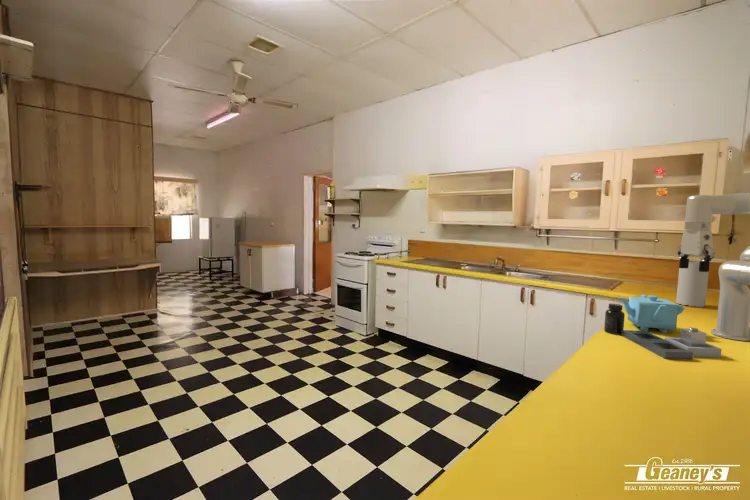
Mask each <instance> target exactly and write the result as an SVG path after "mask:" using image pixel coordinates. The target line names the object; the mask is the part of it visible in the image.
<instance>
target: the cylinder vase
mask: <svg viewBox="0 0 750 500" xmlns="http://www.w3.org/2000/svg"><path fill="white" fill-rule="evenodd" d="M700 261H701V260H700ZM700 261H697V260H689V266H688V268H679V267H678V269H679V270H678V277H677V287H676V288H677V291H676V299H675V302H676V303H675V304H677V303H678V305H679V304H682V305H681V306H683V305H689V306H696V307H695V308H705V307H706V304H707V303H706V301H707V291H708V284H709V283H708V282H709V272H699V263H700ZM689 306H688V307H689ZM704 306H705V307H704Z"/></svg>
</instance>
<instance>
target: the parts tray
mask: <svg viewBox="0 0 750 500" xmlns="http://www.w3.org/2000/svg"><path fill="white" fill-rule="evenodd" d="M664 340H666V341H669V342H671V343H673V344H675V345H677V346H680V347H682V348H684V349H686V350H688V351H691V352H693V357H704V358H722V357H721V356H722V348H720V347H718V346H716V345H713V344H711V343H708V342H706V344H705V347H688V346H686V345H684V344H681V343H680V337H667V336H666V337H664Z"/></svg>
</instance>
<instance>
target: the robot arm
mask: <svg viewBox="0 0 750 500" xmlns="http://www.w3.org/2000/svg"><path fill="white" fill-rule="evenodd" d="M725 214H726V215H746V214H747V215H748V214H749V215H750V192H738V193H736V192H735V193H728V194H716V195H715V194H714V195H713V194H711V195H710V194H709V195H707V194H697V195H695V194H694V195H689V196H688V197H687V199H686V207H685V216H684V217H685V220H684V230H683V232H682V237H681V241H680V245H678V246H676V250H677V251H676V252H677V254H678V259H679V265H678V269H679V268H688V266H689V261H690V258H689V257H690V256H695V257H699V259H700V263H699V272H709V271H710V263H711V262H712V260H713V258H715V255H716V253H717V251H716V250H715V249H714V248H713V247H714V246H713V245H714V244H713V243H714V240H713V233H712V230H711V225H712V223H711V222H712V215H725ZM718 278H719V299H718V307H717V316H716V326H715V328H713V329H711V330H710V333H711V334H712V335H714V336H716V337H719V338H724V339H729V340H734V341H741V342H742V341H745V342H750V288H749V287H750V245H749V246H746V248H745V249H744V250H743V251H742V252H741V254H740V255H739V260H727V261H725V262H723V263H722V264H720V265H719V267H718Z"/></svg>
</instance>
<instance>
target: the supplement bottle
mask: <svg viewBox="0 0 750 500" xmlns="http://www.w3.org/2000/svg"><path fill="white" fill-rule="evenodd" d="M607 308H608V309H607V310H605V315H604V324H603V325H604V326H603V327H604V328H603V330H604V332H605V333H609V334H612V335H622V330H625V329H624V327H625V318H626V317H625V316H626V315H625V313H624V311H623V304H620V303H611V302H610V303H608V307H607Z"/></svg>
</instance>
